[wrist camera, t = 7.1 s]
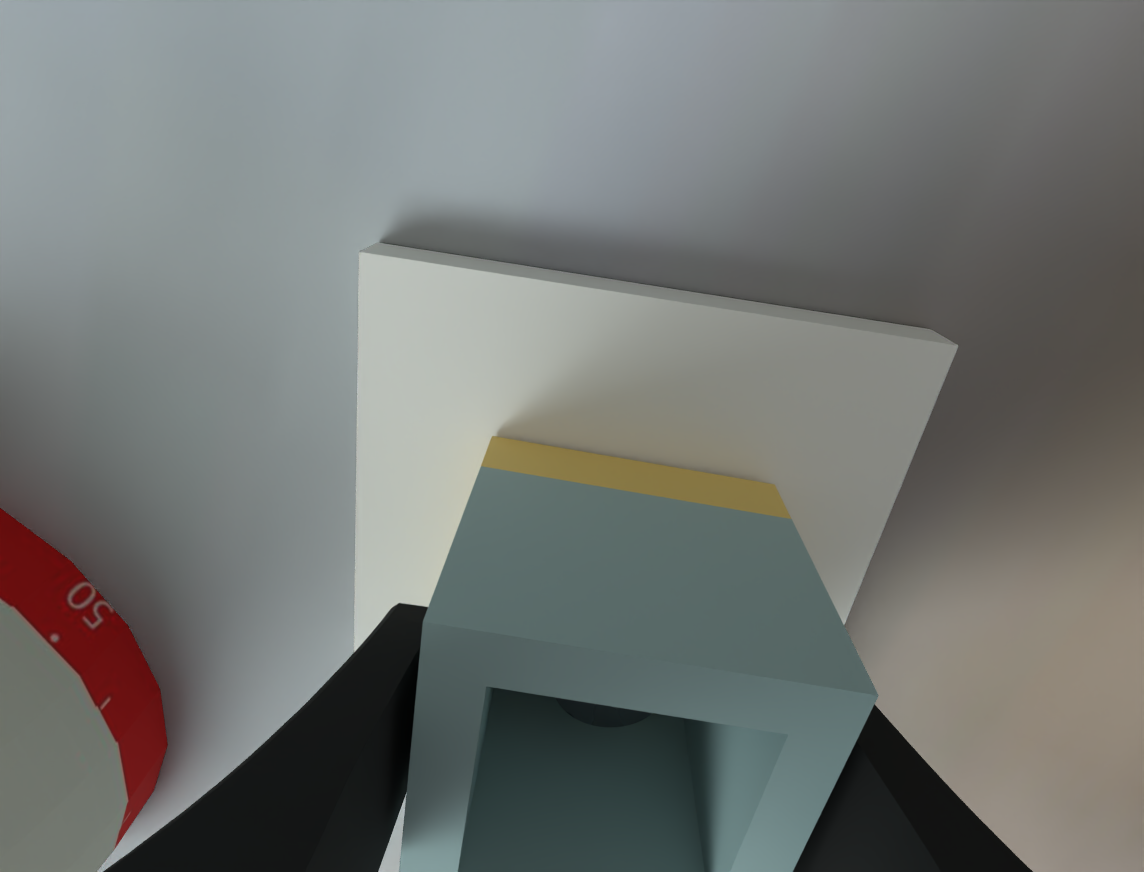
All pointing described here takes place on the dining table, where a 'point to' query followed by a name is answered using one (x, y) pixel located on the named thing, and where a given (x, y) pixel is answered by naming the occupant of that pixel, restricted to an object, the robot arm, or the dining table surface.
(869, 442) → the pin board
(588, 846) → the sleeve
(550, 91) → the dining table surface
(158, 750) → the kitchen timer
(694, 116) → the dining table surface
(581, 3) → the dining table surface
